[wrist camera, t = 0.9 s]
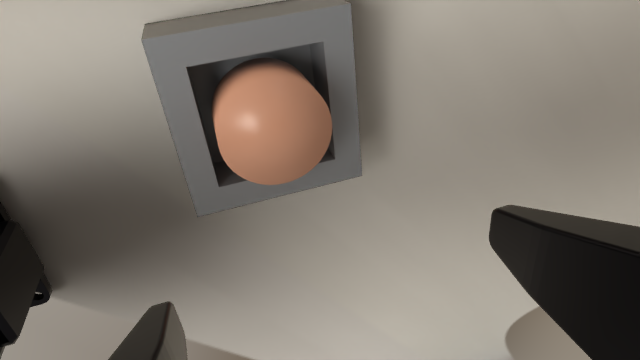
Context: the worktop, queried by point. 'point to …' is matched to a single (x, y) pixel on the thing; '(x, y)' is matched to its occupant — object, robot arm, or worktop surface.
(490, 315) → the worktop surface
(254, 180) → the button
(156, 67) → the button housing
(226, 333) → the worktop surface
